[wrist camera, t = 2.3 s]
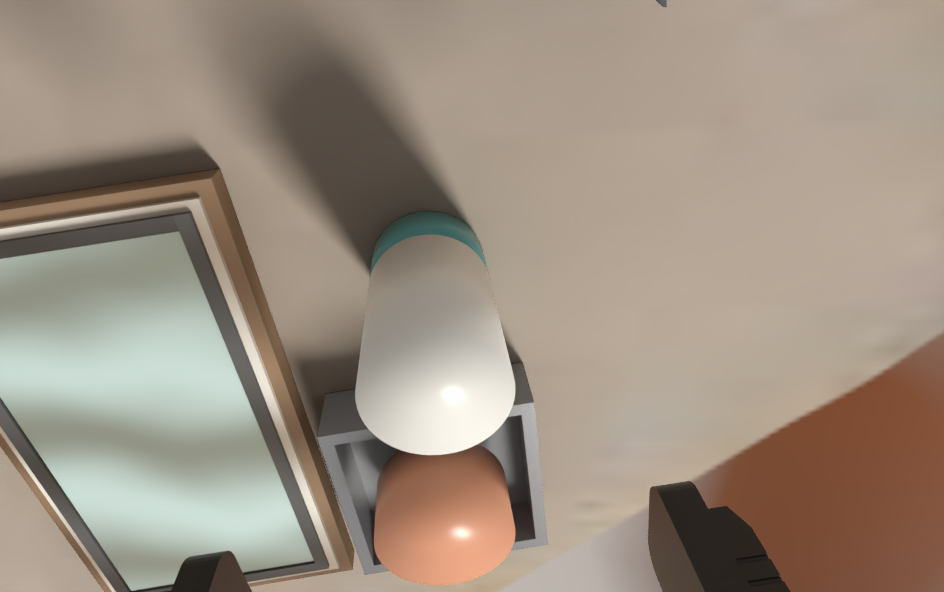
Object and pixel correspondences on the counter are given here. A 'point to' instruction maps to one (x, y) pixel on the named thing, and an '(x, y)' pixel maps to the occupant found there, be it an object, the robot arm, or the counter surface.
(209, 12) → the counter surface
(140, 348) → the framed mirror
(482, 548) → the button
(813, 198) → the counter surface
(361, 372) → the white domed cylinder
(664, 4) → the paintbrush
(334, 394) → the button housing
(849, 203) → the counter surface
